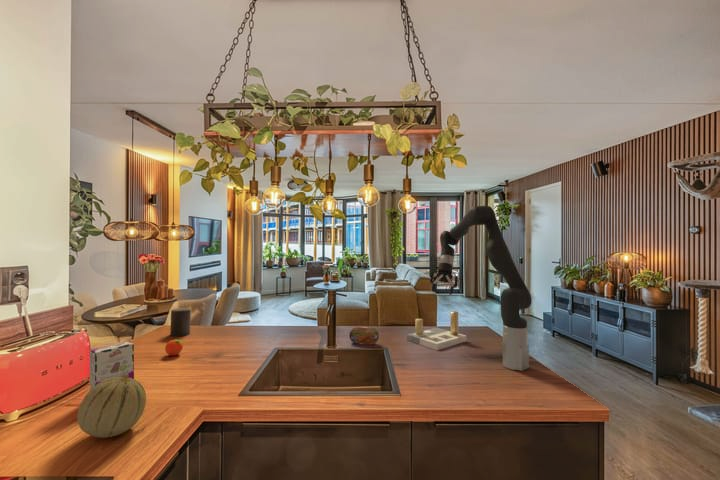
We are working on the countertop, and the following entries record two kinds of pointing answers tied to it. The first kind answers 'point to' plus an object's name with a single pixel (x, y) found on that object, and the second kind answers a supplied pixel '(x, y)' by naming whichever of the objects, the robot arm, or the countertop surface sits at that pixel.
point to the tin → (364, 335)
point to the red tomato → (173, 347)
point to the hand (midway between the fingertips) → (442, 292)
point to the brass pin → (454, 323)
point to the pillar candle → (180, 321)
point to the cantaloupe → (112, 407)
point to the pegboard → (434, 337)
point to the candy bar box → (111, 362)
